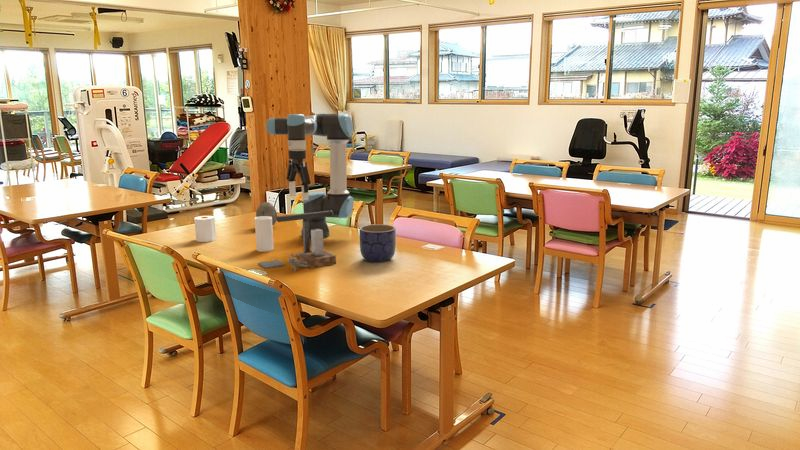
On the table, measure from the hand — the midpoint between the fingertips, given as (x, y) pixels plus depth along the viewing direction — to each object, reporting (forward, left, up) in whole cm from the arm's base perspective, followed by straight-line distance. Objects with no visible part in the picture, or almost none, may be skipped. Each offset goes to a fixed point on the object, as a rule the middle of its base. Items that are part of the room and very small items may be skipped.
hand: (298, 197), depth 252 cm
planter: (-30, +18, -29) cm, 46 cm away
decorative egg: (-11, -74, -29) cm, 81 cm away
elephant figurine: (+7, +10, -29) cm, 32 cm away
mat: (+14, -1, -29) cm, 32 cm away
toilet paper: (+26, -64, -29) cm, 75 cm away
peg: (-5, +7, -29) cm, 30 cm away
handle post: (-5, -5, -29) cm, 30 cm away
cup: (+7, -28, -29) cm, 41 cm away
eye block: (-5, +7, -29) cm, 30 cm away
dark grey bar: (-5, -5, -12) cm, 14 cm away
